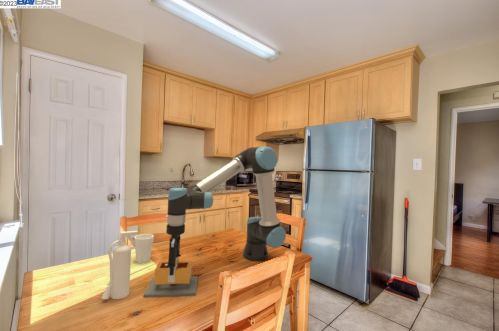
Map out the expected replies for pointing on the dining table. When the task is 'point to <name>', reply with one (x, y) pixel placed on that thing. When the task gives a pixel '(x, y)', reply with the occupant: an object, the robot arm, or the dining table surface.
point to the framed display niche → (180, 275)
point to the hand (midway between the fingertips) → (173, 276)
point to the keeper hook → (168, 267)
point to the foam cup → (143, 247)
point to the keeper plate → (171, 289)
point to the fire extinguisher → (120, 267)
